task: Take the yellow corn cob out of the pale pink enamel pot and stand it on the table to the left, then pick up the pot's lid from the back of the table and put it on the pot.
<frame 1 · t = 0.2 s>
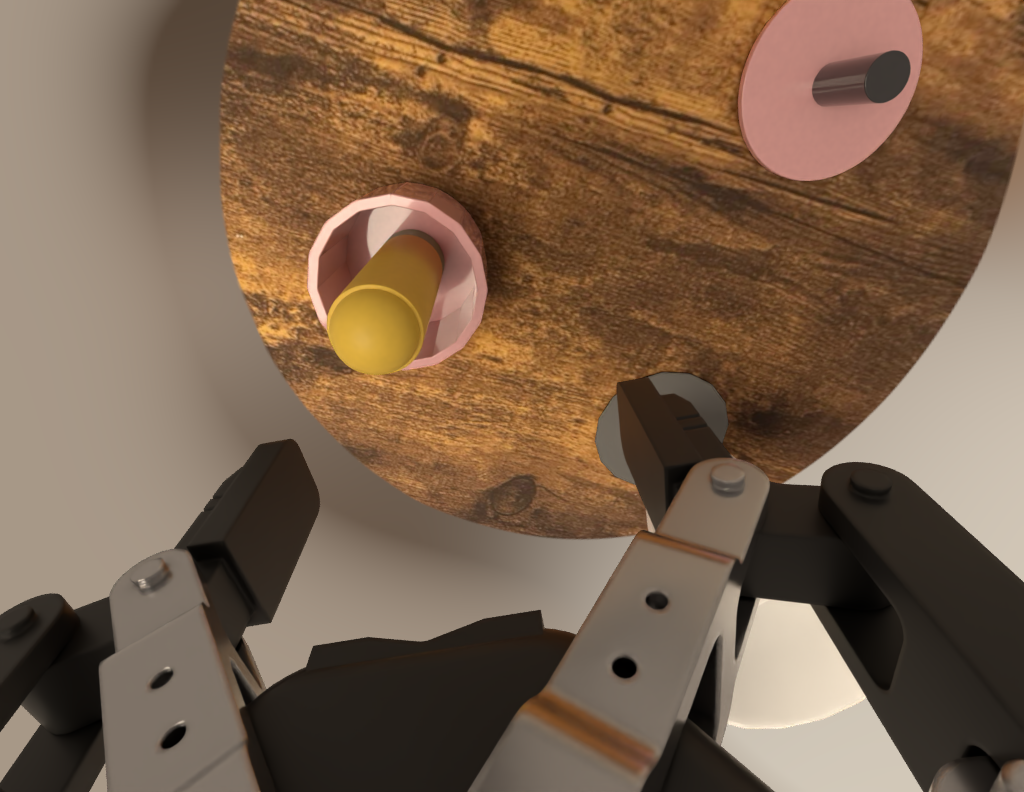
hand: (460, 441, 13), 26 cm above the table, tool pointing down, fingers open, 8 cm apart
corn: (413, 261, 36), resting on pot
lid: (825, 85, 32), point 1 cm above the table
pot: (413, 259, 36), on the table
cup: (660, 430, 44), on the table
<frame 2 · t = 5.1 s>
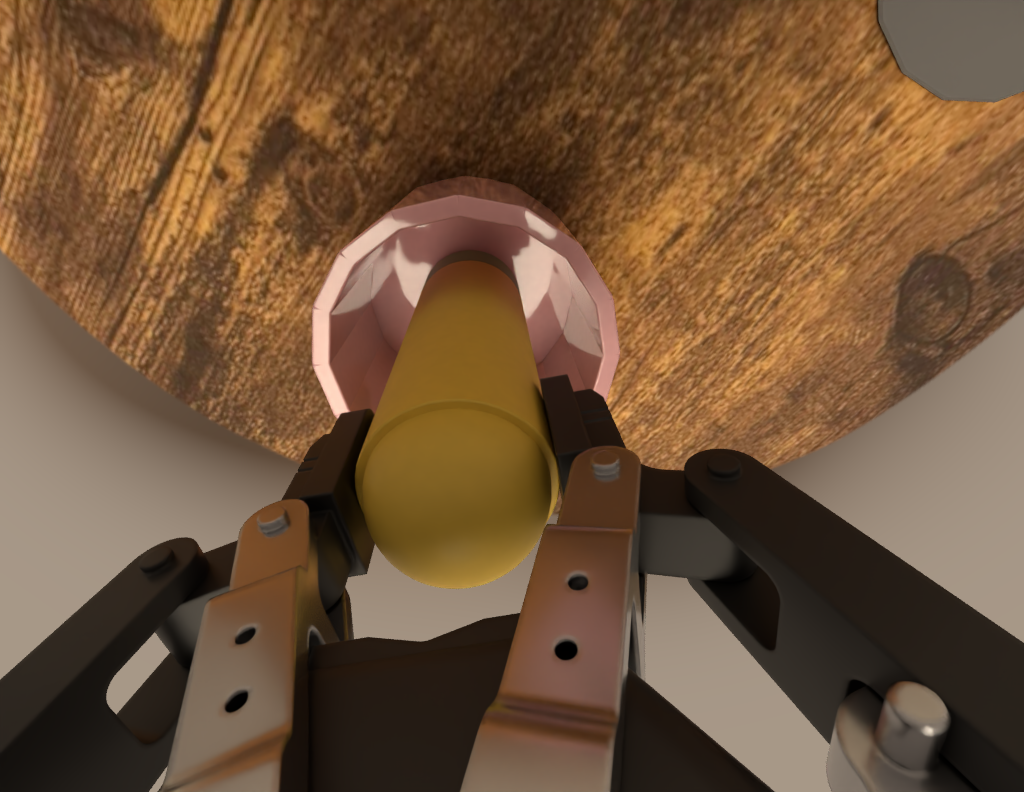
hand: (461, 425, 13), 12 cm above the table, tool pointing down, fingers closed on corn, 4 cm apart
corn: (471, 298, 23), point 1 cm above the table, touching gripper, pot
pot: (472, 295, 24), on the table
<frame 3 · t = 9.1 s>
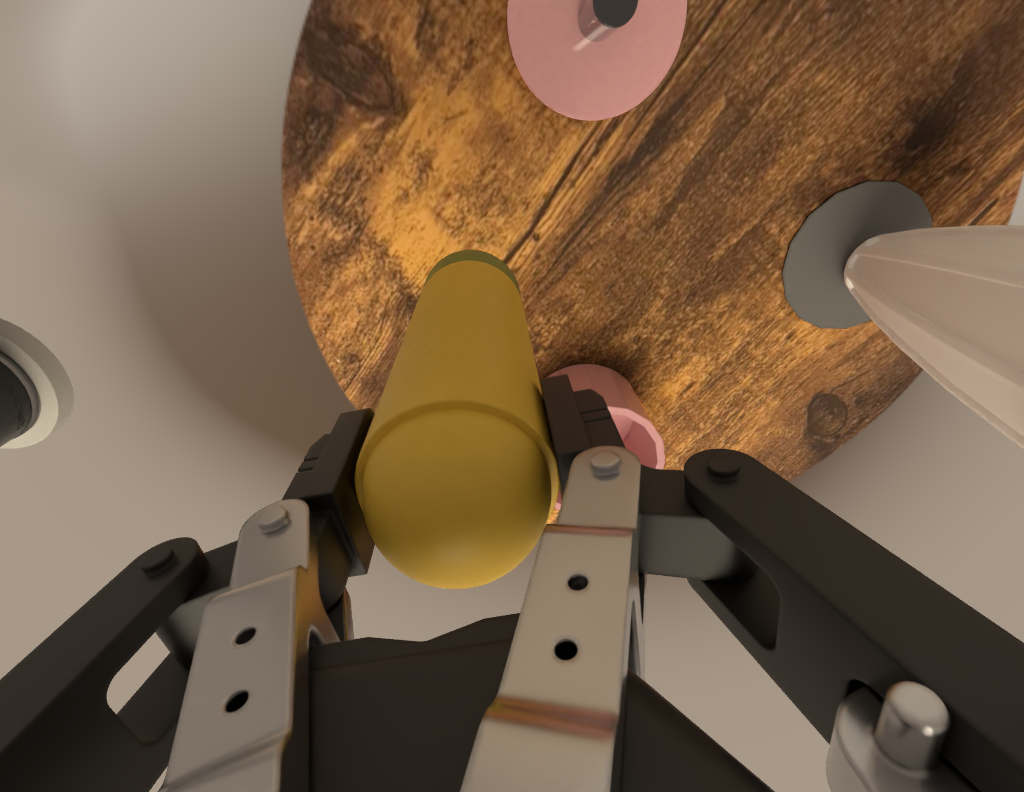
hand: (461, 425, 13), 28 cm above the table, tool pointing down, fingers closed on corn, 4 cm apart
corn: (471, 298, 23), point 16 cm above the table, touching gripper
lid: (595, 20, 32), point 1 cm above the table
pot: (581, 416, 46), on the table
cup: (853, 258, 40), on the table
when the fingers open (11 cm above the table, at t = 13.1 s): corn stays where it is, on the table.
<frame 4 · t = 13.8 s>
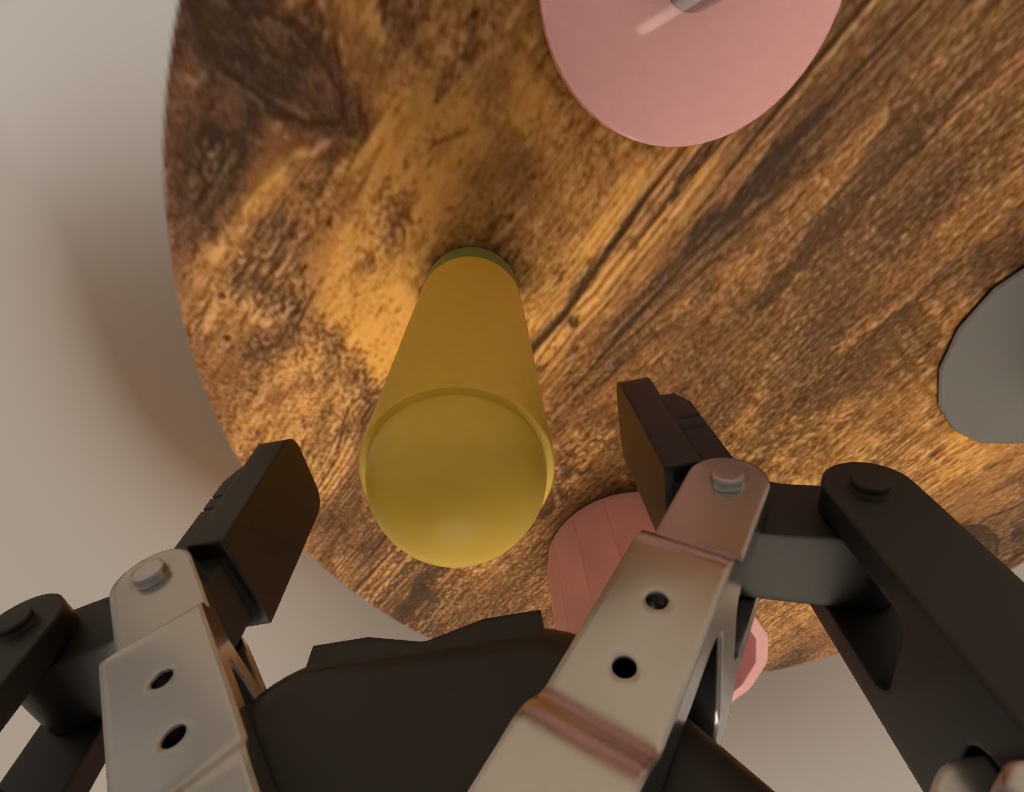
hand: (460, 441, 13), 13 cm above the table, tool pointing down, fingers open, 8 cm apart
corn: (471, 294, 24), on the table
pot: (628, 556, 32), on the table
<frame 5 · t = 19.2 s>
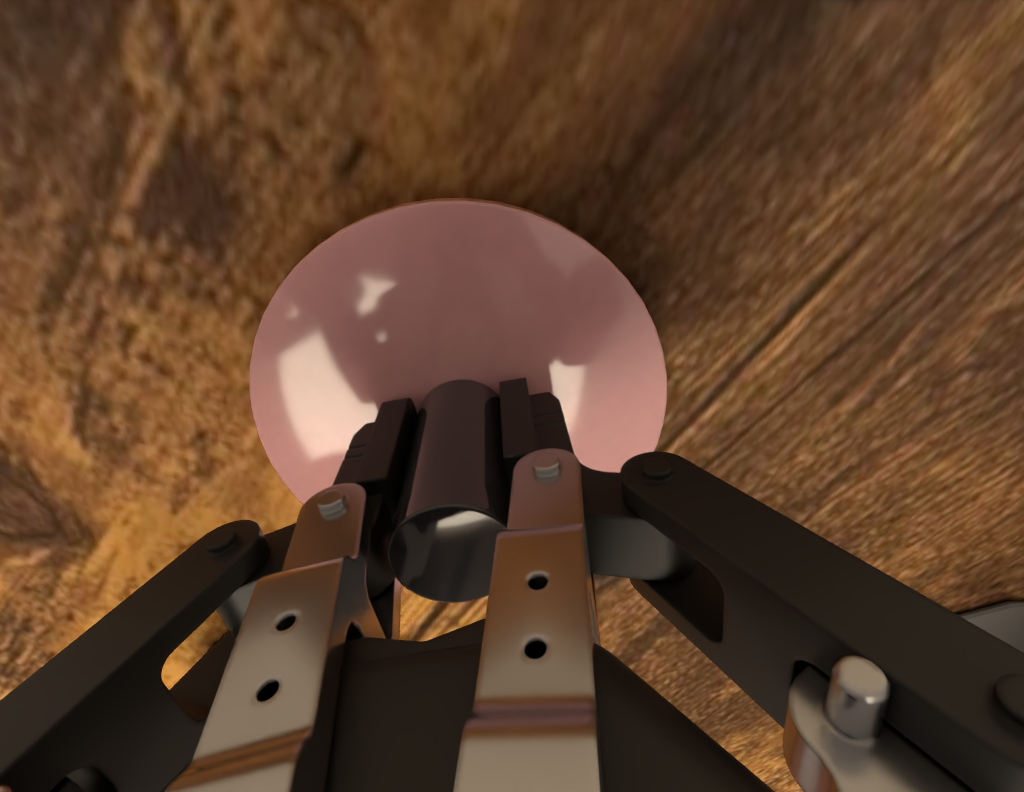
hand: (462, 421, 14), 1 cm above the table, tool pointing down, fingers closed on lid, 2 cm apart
lid: (464, 408, 14), point 1 cm above the table, touching gripper
cup: (966, 684, 23), on the table
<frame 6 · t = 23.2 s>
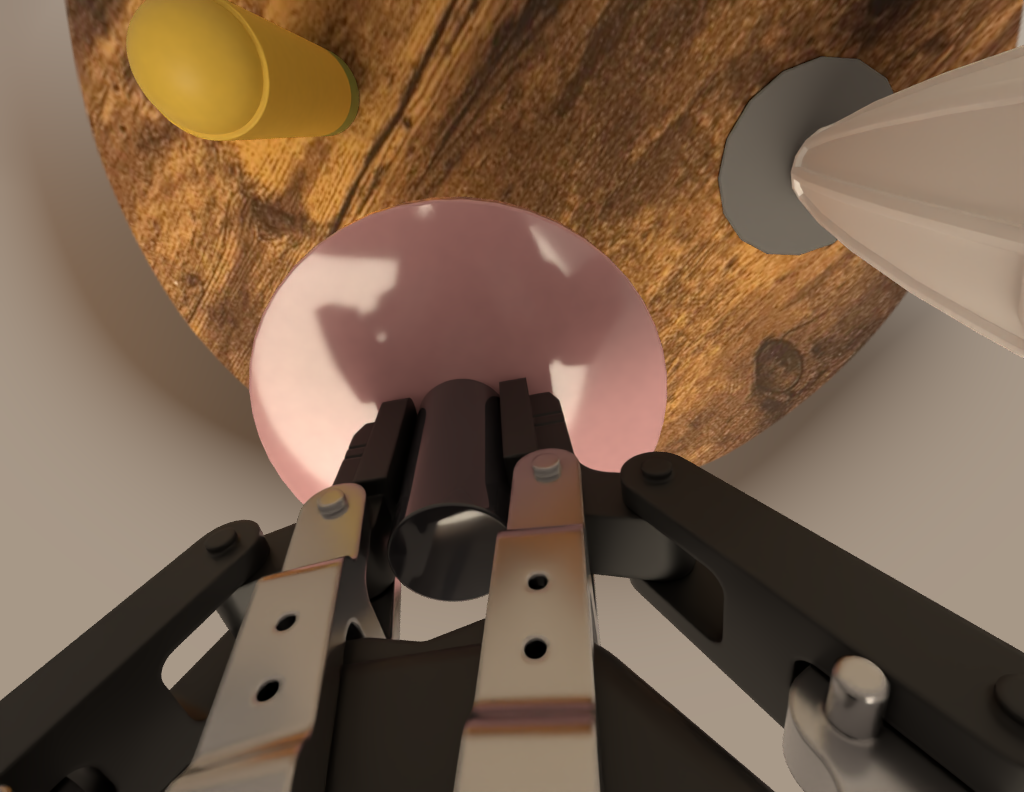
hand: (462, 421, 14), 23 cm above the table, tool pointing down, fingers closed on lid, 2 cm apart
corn: (320, 93, 30), on the table
lid: (464, 407, 14), point 22 cm above the table, touching gripper
cup: (806, 163, 33), on the table
when the fingers open (8 cm above the table, at t = 27.6 s): lid stays where it is, resting on pot.
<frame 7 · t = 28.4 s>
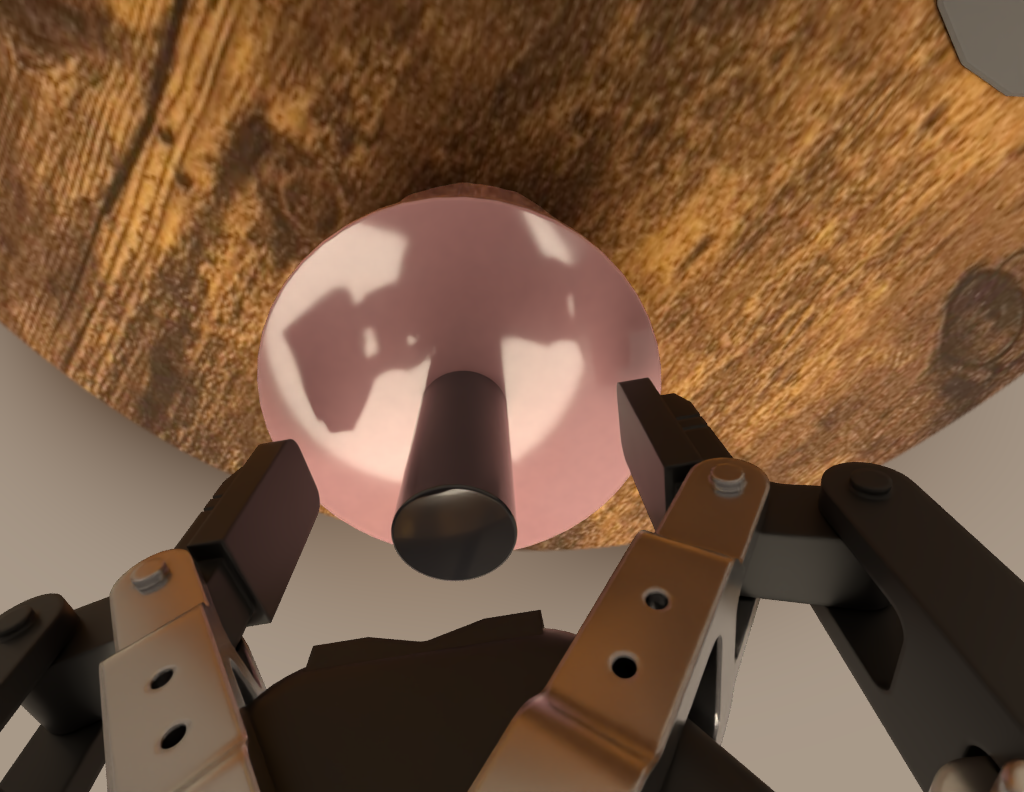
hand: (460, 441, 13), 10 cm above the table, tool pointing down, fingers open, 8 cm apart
lid: (464, 399, 15), point 7 cm above the table, touching pot
pot: (470, 315, 21), on the table
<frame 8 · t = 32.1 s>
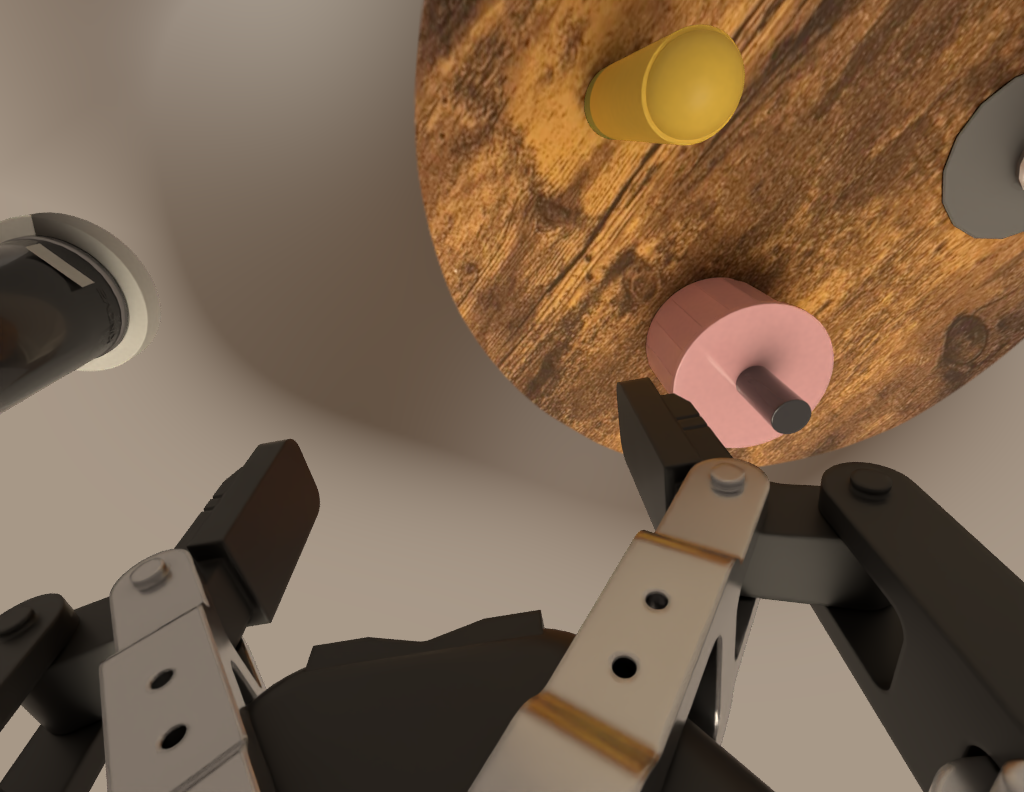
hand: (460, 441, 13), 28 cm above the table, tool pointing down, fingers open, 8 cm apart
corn: (616, 102, 34), on the table
lid: (748, 377, 36), point 7 cm above the table, touching pot
pot: (707, 338, 42), on the table
cup: (1020, 157, 37), on the table
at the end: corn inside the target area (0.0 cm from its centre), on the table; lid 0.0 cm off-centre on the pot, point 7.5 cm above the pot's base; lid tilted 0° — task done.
